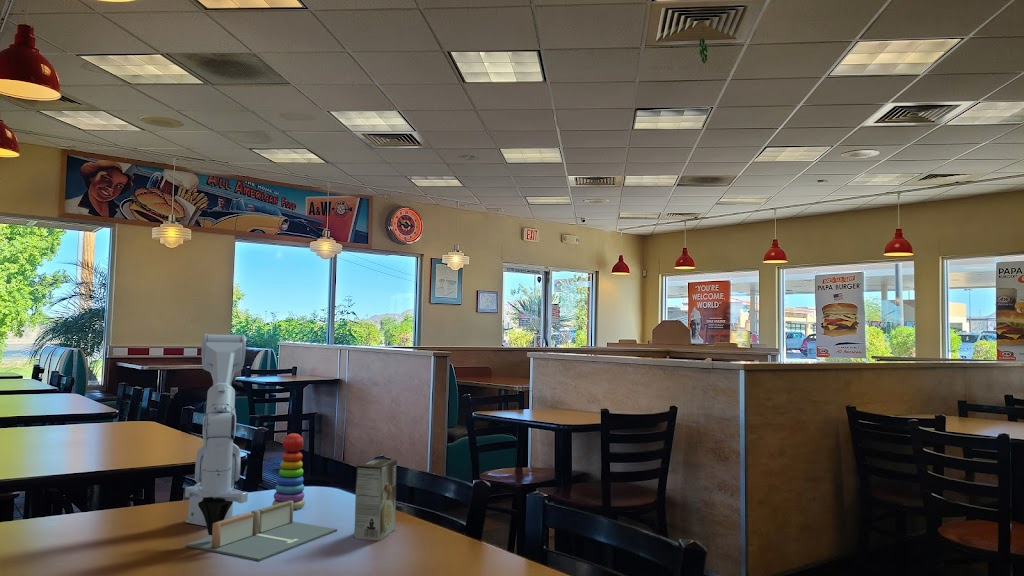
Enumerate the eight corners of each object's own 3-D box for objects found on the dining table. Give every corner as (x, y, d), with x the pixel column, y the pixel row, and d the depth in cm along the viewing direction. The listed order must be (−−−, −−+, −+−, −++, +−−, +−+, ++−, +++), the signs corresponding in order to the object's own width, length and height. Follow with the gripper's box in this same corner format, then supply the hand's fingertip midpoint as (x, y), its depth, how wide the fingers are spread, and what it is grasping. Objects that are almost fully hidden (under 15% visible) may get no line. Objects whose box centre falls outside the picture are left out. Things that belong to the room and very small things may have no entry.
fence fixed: (248, 536, 155) (249, 511, 155) (288, 523, 166) (289, 499, 167) (254, 537, 154) (255, 512, 155) (294, 524, 166) (295, 500, 166)
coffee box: (369, 527, 164) (372, 457, 165) (395, 530, 163) (398, 459, 164) (353, 539, 155) (355, 465, 156) (380, 541, 154) (383, 466, 155)
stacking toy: (286, 513, 175) (289, 436, 177) (265, 507, 180) (268, 433, 181) (311, 506, 182) (314, 433, 183) (290, 502, 186) (293, 430, 188)
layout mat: (186, 546, 147) (186, 543, 148) (269, 519, 169) (269, 517, 169) (259, 561, 139) (259, 558, 139) (337, 530, 161) (337, 528, 161)
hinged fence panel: (247, 534, 155) (248, 512, 155) (253, 535, 154) (254, 513, 154) (209, 546, 145) (211, 523, 146) (215, 548, 145) (216, 524, 145)
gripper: (175, 469, 149) (172, 535, 148) (233, 475, 145) (229, 543, 144) (199, 463, 156) (196, 526, 155) (255, 469, 151) (252, 533, 151)
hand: (214, 534), depth 150 cm, fingers closed
